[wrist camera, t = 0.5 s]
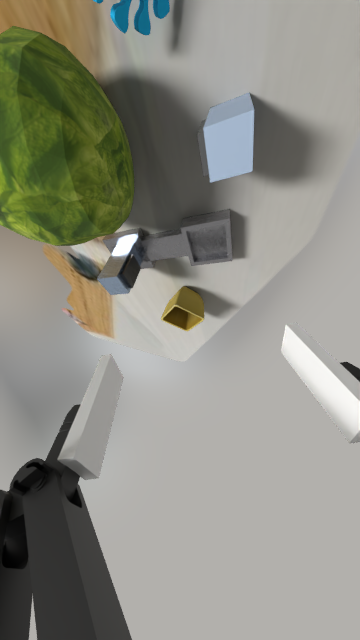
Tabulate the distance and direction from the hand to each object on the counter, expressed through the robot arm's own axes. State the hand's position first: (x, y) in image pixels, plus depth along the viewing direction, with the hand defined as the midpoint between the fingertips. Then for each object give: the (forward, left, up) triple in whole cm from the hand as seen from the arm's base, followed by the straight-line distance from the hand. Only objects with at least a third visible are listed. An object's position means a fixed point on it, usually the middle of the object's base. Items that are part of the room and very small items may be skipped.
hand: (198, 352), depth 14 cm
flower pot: (+24, -12, -29) cm, 40 cm away
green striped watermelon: (-11, -21, -29) cm, 37 cm away
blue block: (-7, +2, -29) cm, 30 cm away
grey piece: (+8, -12, -29) cm, 32 cm away
